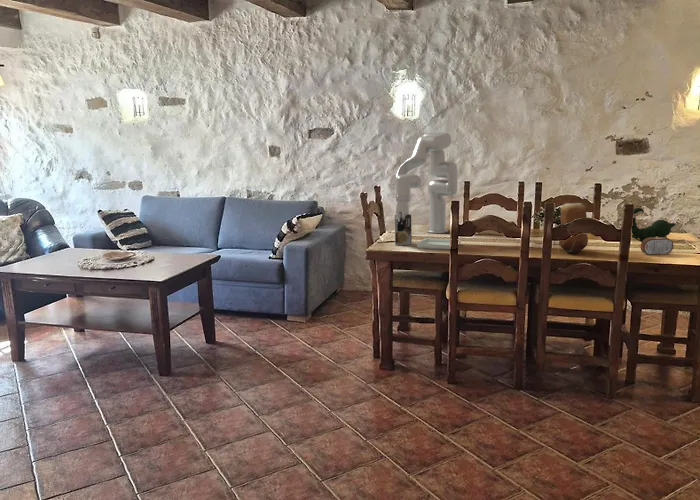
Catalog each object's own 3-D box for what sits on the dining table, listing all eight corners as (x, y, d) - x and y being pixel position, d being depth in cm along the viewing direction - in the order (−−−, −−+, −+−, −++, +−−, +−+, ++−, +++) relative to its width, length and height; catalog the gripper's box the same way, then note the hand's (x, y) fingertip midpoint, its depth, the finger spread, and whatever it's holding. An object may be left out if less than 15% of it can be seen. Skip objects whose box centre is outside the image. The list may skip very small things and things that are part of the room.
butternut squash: (566, 248, 293) (569, 200, 288) (592, 252, 283) (595, 202, 278) (552, 253, 284) (555, 203, 279) (578, 257, 274) (581, 205, 269)
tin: (669, 253, 277) (671, 236, 275) (673, 254, 274) (675, 237, 272) (639, 254, 277) (640, 237, 275) (642, 255, 274) (644, 238, 272)
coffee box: (411, 242, 317) (411, 214, 314) (411, 245, 311) (411, 216, 307) (395, 243, 318) (394, 214, 315) (394, 245, 312) (394, 216, 308)
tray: (424, 242, 318) (424, 238, 318) (460, 243, 311) (460, 239, 311) (417, 247, 304) (417, 243, 303) (454, 249, 297) (454, 245, 296)
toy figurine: (631, 245, 305) (680, 240, 302) (630, 210, 301) (680, 205, 298) (624, 241, 314) (672, 237, 311) (623, 207, 310) (672, 202, 307)
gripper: (400, 196, 318) (400, 227, 322) (391, 200, 302) (391, 232, 306) (413, 197, 316) (413, 227, 319) (405, 200, 300) (405, 232, 303)
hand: (402, 229), depth 312 cm, fingers open, 9 cm apart
